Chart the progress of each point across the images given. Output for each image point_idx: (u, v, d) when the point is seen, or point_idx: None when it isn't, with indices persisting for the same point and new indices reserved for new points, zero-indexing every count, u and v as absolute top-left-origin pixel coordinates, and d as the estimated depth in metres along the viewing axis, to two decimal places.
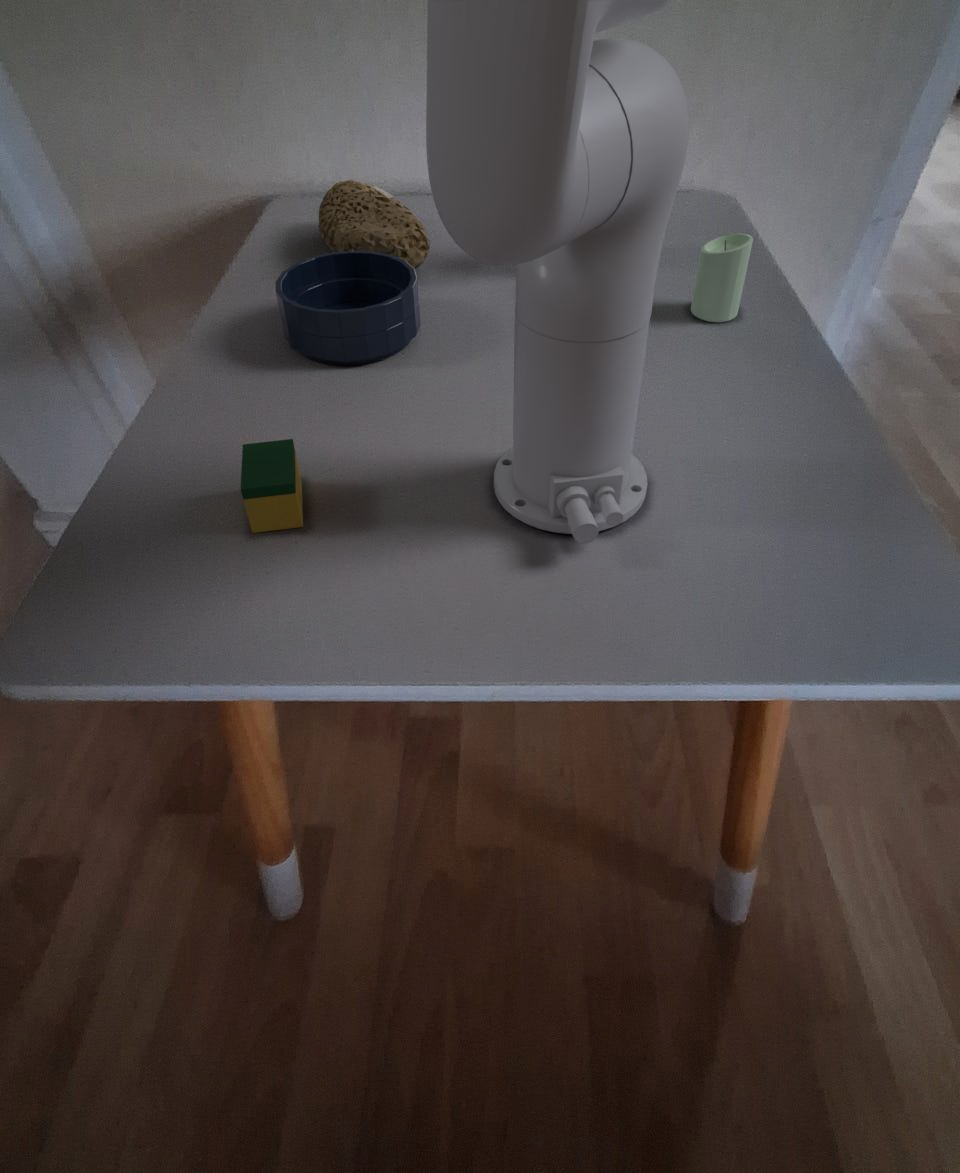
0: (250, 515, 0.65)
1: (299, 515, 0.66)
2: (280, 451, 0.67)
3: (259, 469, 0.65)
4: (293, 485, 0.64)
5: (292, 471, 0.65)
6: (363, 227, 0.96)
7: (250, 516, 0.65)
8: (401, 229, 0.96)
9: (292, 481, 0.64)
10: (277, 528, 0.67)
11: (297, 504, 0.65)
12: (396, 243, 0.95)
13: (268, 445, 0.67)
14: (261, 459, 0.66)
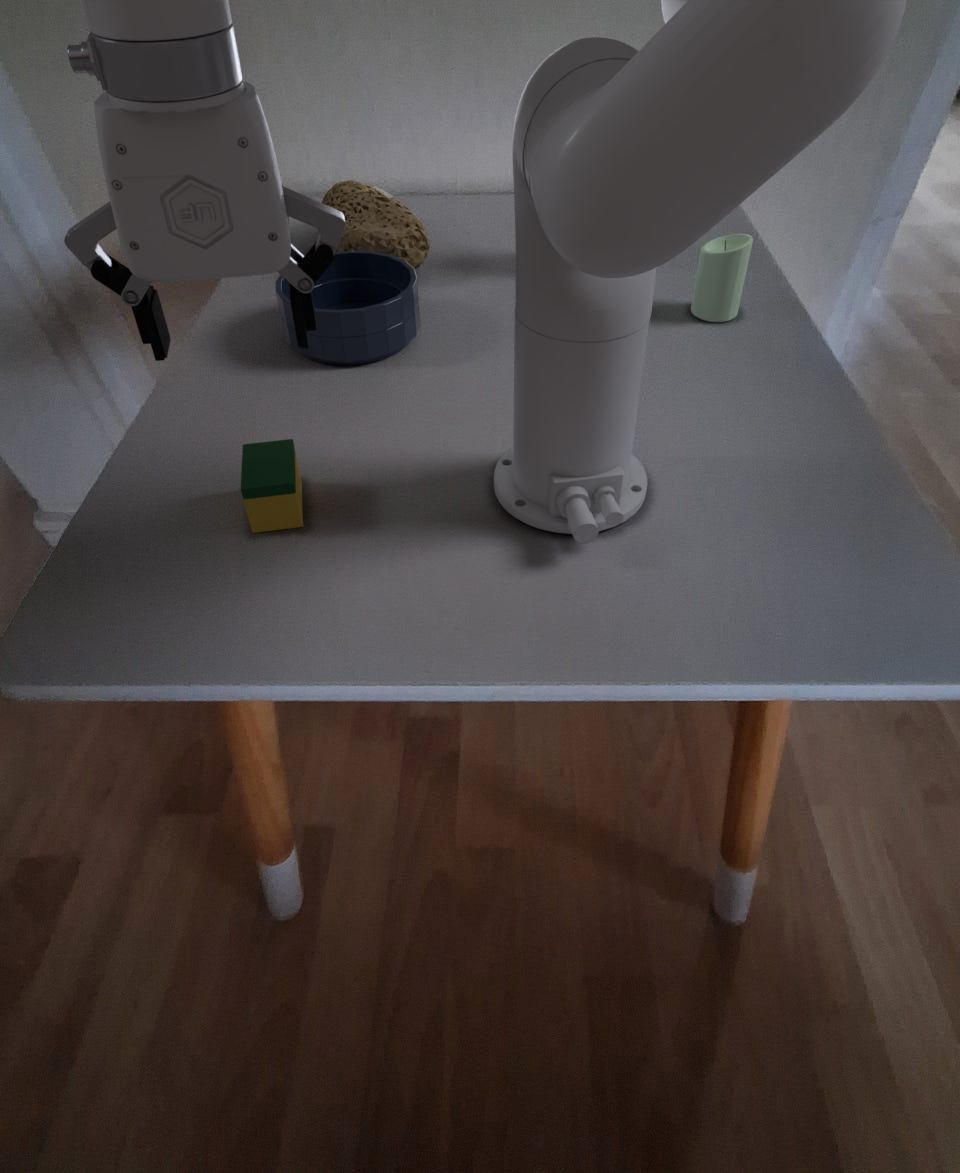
0: (250, 515, 0.65)
1: (299, 515, 0.66)
2: (280, 451, 0.67)
3: (259, 469, 0.65)
4: (293, 485, 0.64)
5: (292, 471, 0.65)
6: (363, 227, 0.96)
7: (250, 516, 0.65)
8: (401, 229, 0.96)
9: (292, 481, 0.64)
10: (277, 528, 0.67)
11: (297, 504, 0.65)
12: (396, 243, 0.95)
13: (268, 445, 0.67)
14: (261, 459, 0.66)
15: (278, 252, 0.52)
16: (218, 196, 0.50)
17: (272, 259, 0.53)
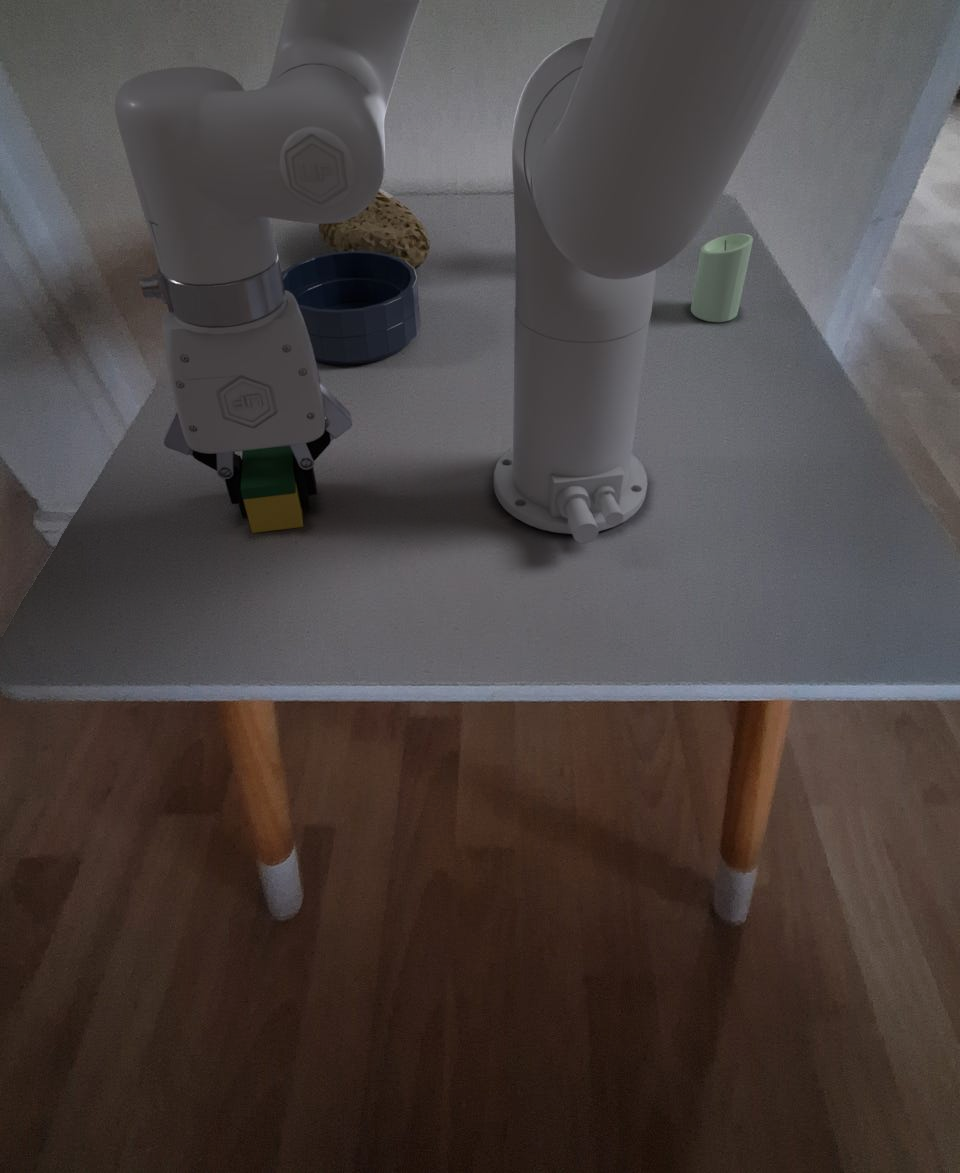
0: (250, 515, 0.65)
1: (299, 515, 0.66)
2: (280, 451, 0.67)
3: (259, 469, 0.65)
4: (293, 485, 0.64)
5: (292, 471, 0.65)
6: (363, 227, 0.96)
7: (250, 517, 0.65)
8: (401, 229, 0.96)
9: (292, 481, 0.64)
10: (277, 528, 0.67)
11: (297, 504, 0.65)
12: (396, 243, 0.95)
13: None
14: (261, 459, 0.66)
15: (315, 427, 0.61)
16: (265, 389, 0.58)
17: (310, 433, 0.61)
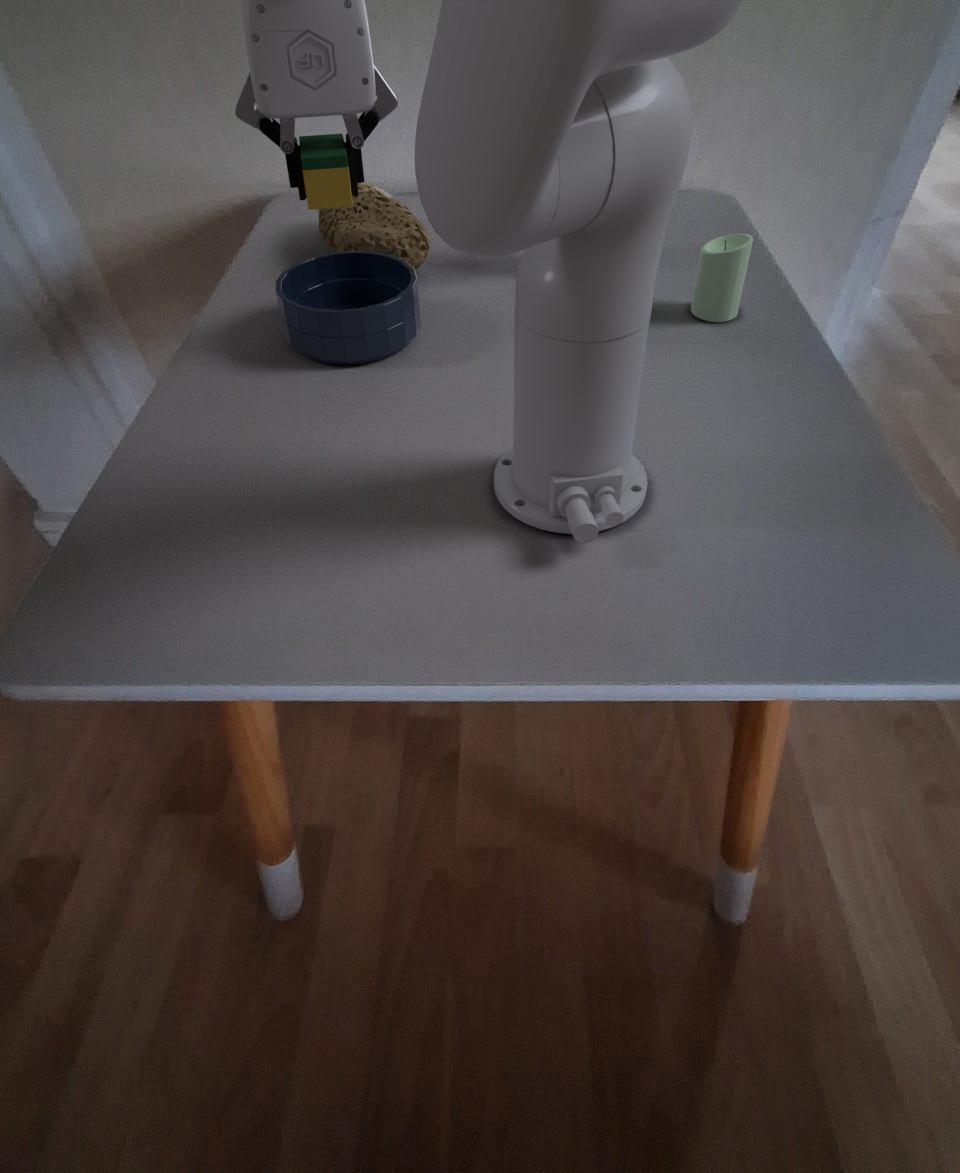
0: (308, 189, 0.74)
1: (350, 192, 0.75)
2: (332, 139, 0.76)
3: (315, 148, 0.74)
4: (346, 157, 0.73)
5: (345, 149, 0.74)
6: (363, 227, 0.96)
7: (308, 191, 0.75)
8: (401, 229, 0.96)
9: (345, 154, 0.73)
10: (330, 206, 0.76)
11: (349, 180, 0.75)
12: (396, 243, 0.95)
13: (321, 136, 0.77)
14: (316, 143, 0.75)
15: (367, 94, 0.70)
16: (327, 47, 0.68)
17: (363, 100, 0.71)
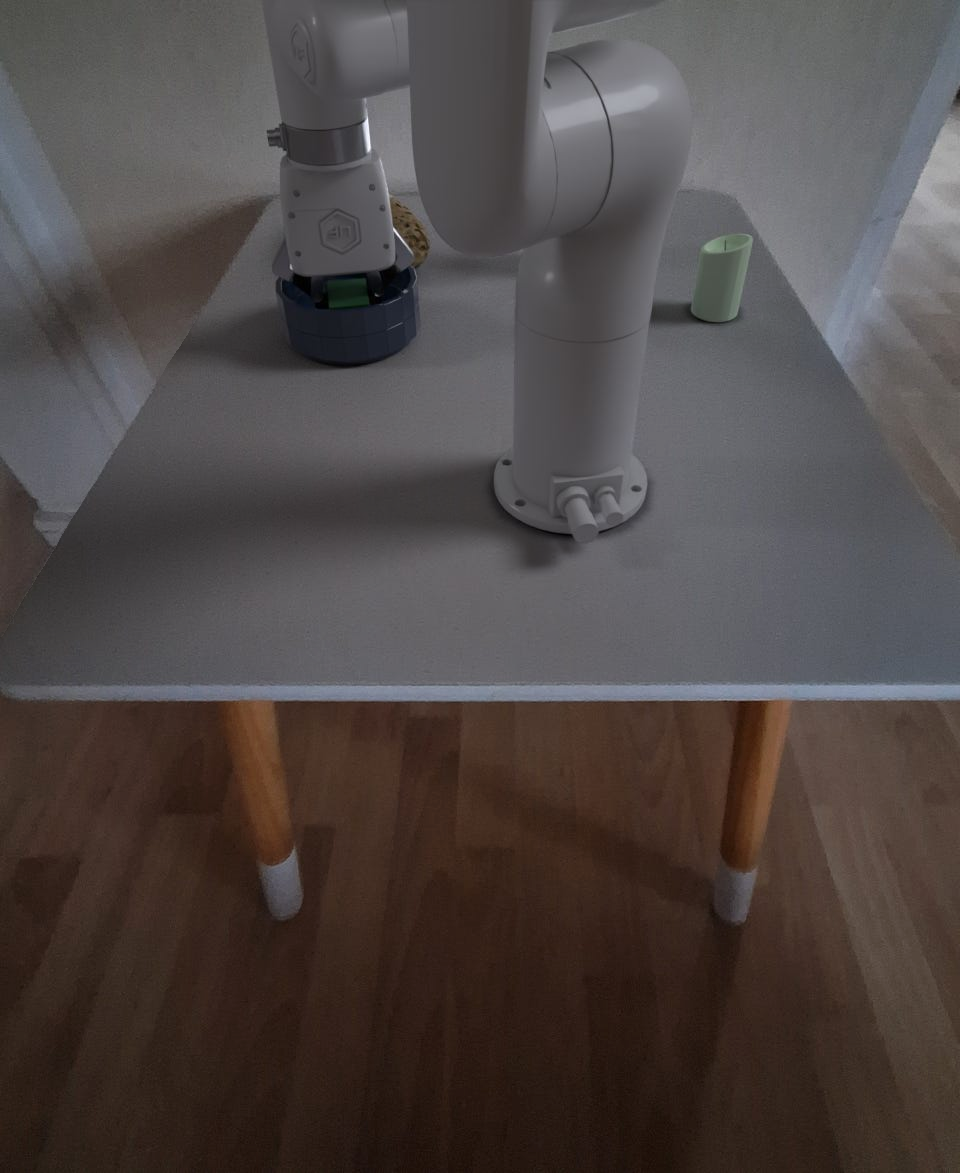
0: None
1: None
2: (356, 285, 0.86)
3: (341, 296, 0.84)
4: None
5: (367, 297, 0.84)
6: None
7: None
8: (401, 229, 0.96)
9: (368, 302, 0.83)
10: None
11: None
12: None
13: (346, 282, 0.87)
14: (342, 290, 0.85)
15: (388, 256, 0.80)
16: (353, 221, 0.77)
17: (384, 261, 0.81)
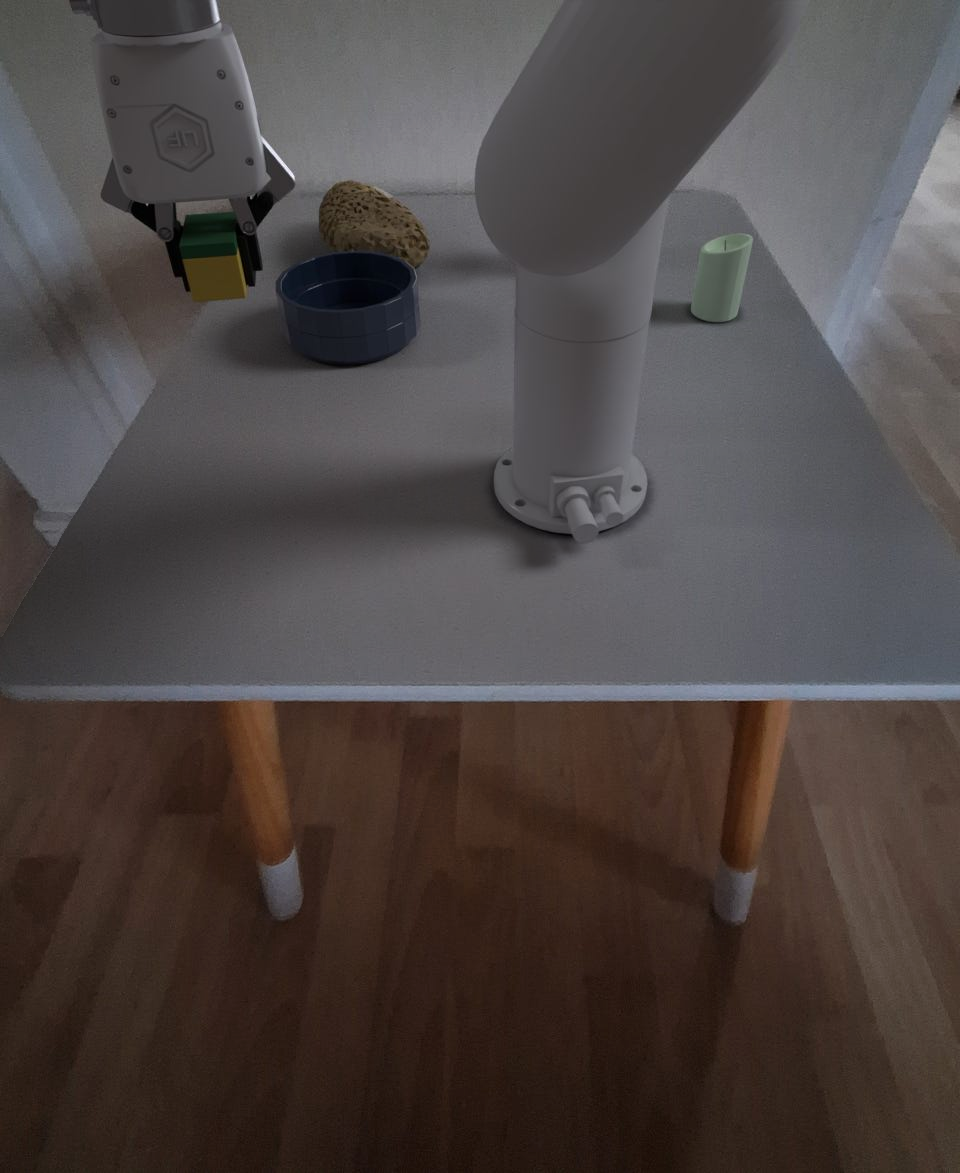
0: (190, 279, 0.63)
1: (241, 283, 0.64)
2: (223, 220, 0.65)
3: (200, 232, 0.63)
4: (234, 245, 0.62)
5: (234, 233, 0.63)
6: (363, 227, 0.96)
7: (190, 281, 0.63)
8: (401, 229, 0.96)
9: (233, 240, 0.62)
10: (219, 298, 0.65)
11: (239, 269, 0.63)
12: (396, 243, 0.95)
13: (211, 215, 0.66)
14: (203, 225, 0.64)
15: (254, 176, 0.60)
16: (200, 123, 0.57)
17: (249, 182, 0.60)
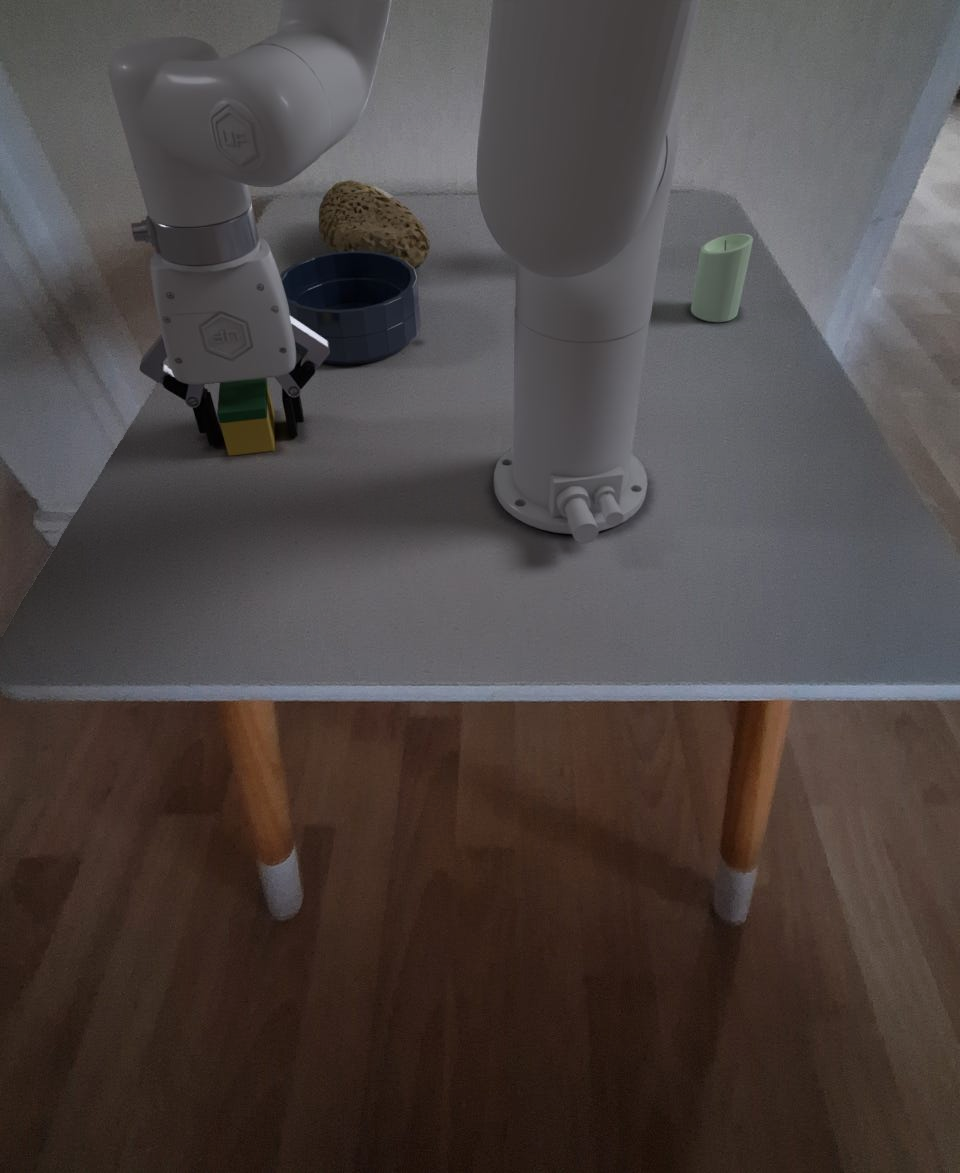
0: (226, 438, 0.73)
1: (270, 439, 0.74)
2: (254, 382, 0.74)
3: (234, 397, 0.73)
4: (264, 410, 0.71)
5: (264, 398, 0.72)
6: (363, 227, 0.96)
7: (226, 440, 0.73)
8: (401, 229, 0.96)
9: (263, 406, 0.71)
10: (251, 451, 0.74)
11: (268, 428, 0.73)
12: (396, 243, 0.95)
13: None
14: (236, 389, 0.74)
15: (286, 361, 0.69)
16: (241, 324, 0.66)
17: (282, 366, 0.69)
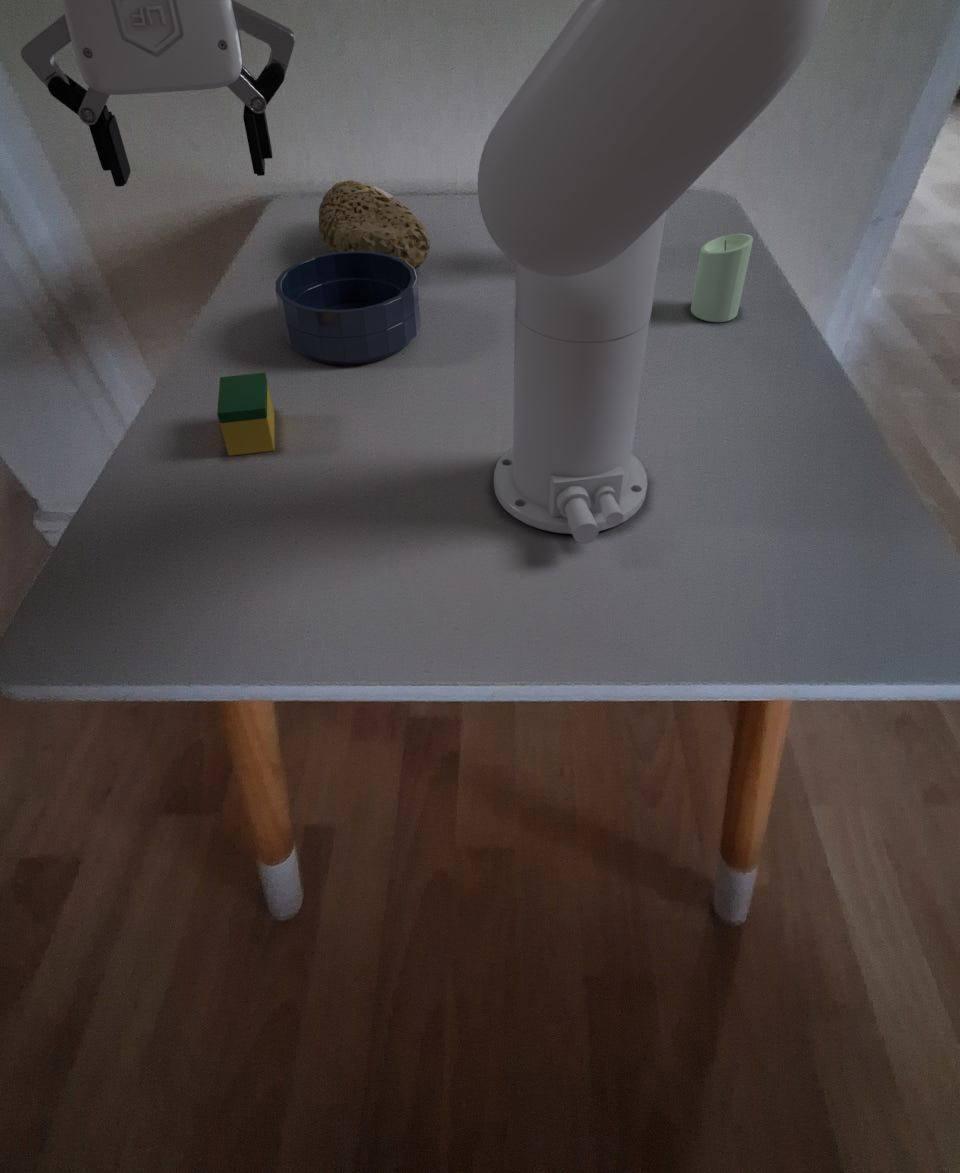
0: (226, 438, 0.73)
1: (270, 439, 0.74)
2: (254, 382, 0.74)
3: (234, 397, 0.73)
4: (264, 410, 0.71)
5: (264, 398, 0.72)
6: (363, 227, 0.96)
7: (226, 440, 0.73)
8: (401, 229, 0.96)
9: (263, 406, 0.71)
10: (251, 451, 0.74)
11: (268, 428, 0.73)
12: (396, 243, 0.95)
13: (243, 378, 0.75)
14: (236, 389, 0.74)
15: (228, 62, 0.54)
16: None
17: (223, 70, 0.54)
